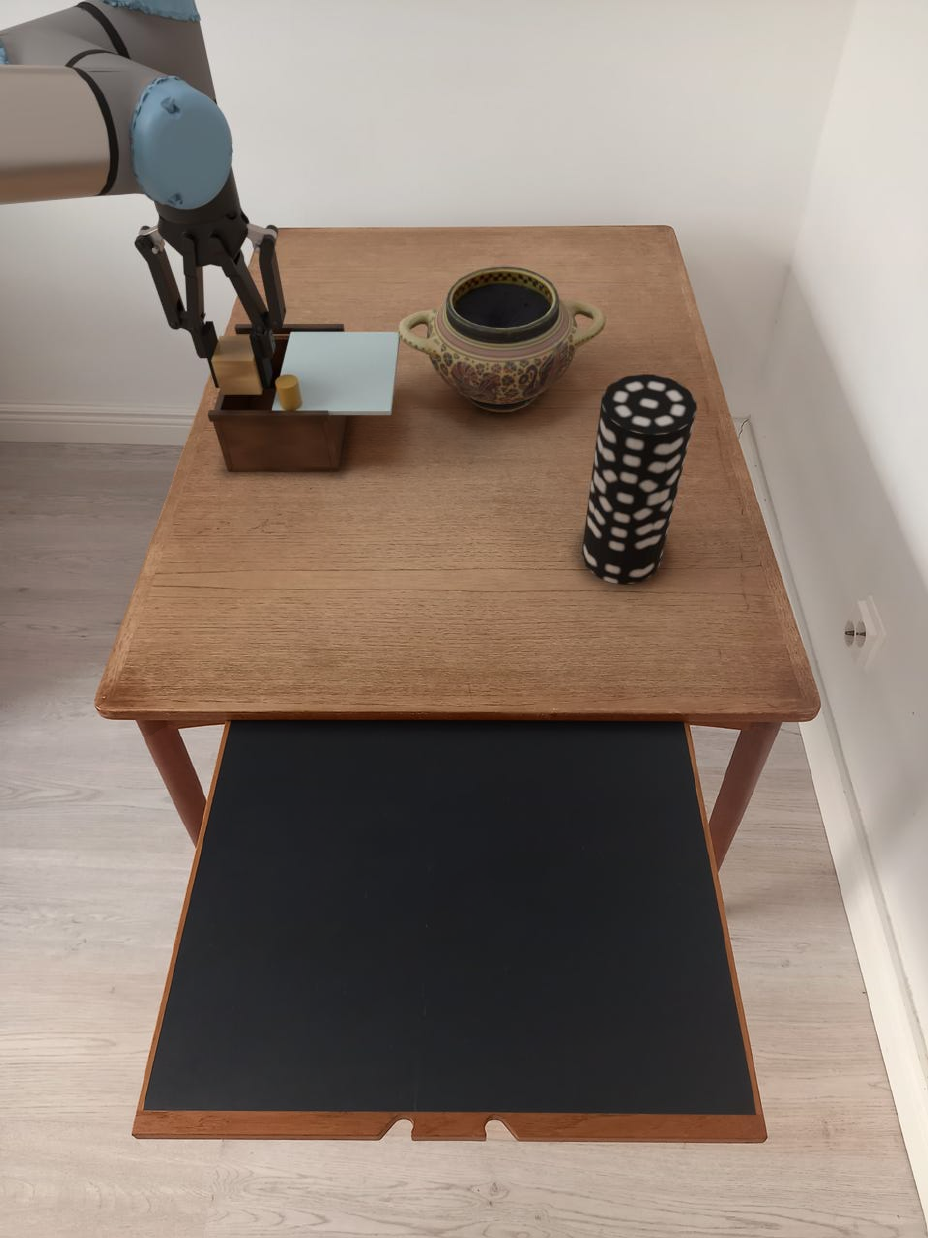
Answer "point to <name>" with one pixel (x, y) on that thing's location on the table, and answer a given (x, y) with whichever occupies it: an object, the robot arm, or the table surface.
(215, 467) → the table surface
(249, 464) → the wooden box
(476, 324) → the ceramic bowl
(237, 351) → the block
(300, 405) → the pale blue square panel
